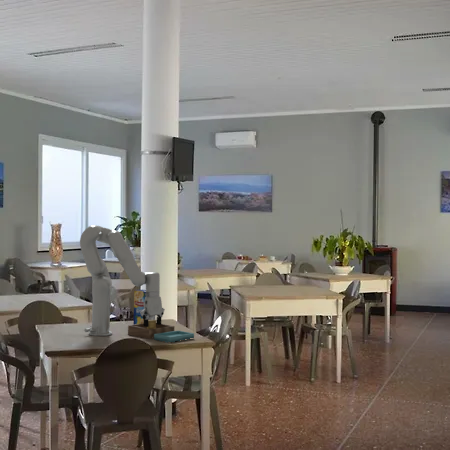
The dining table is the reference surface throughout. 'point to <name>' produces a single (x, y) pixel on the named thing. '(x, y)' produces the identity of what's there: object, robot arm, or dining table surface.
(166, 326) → the brown wooden tray
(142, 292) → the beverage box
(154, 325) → the mustard cylinder
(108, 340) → the dining table surface
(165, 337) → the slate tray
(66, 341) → the dining table surface
